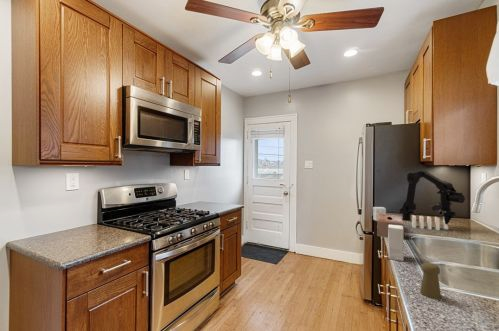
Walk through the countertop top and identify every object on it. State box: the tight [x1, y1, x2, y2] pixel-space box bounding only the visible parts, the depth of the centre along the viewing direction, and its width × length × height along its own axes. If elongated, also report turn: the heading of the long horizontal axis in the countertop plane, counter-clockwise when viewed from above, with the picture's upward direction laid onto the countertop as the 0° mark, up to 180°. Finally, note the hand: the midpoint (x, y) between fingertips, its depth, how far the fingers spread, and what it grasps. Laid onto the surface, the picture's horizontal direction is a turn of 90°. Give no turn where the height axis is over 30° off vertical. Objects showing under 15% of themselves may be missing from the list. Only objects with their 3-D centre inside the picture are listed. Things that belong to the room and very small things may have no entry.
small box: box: [372, 206, 387, 222], centre depth 195 cm, size 8×6×10 cm
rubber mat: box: [404, 224, 451, 233], centre depth 169 cm, size 10×26×1 cm, turn 65°
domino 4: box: [442, 216, 449, 230], centre depth 164 cm, size 2×5×8 cm, turn 155°
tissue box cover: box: [376, 213, 405, 241], centre depth 161 cm, size 26×14×10 cm, turn 151°
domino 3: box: [434, 216, 441, 230], centre depth 166 cm, size 2×5×8 cm, turn 155°
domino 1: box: [418, 215, 425, 230], centre depth 170 cm, size 2×5×8 cm, turn 155°
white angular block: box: [411, 214, 417, 228], centre depth 172 cm, size 2×5×8 cm, turn 155°
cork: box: [419, 262, 442, 300], centre depth 85 cm, size 6×6×11 cm
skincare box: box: [387, 224, 405, 262], centre depth 119 cm, size 8×7×16 cm
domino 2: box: [426, 216, 433, 229], centre depth 168 cm, size 2×5×8 cm, turn 155°
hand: (445, 223), depth 164 cm, fingers closed on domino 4, 5 cm apart
